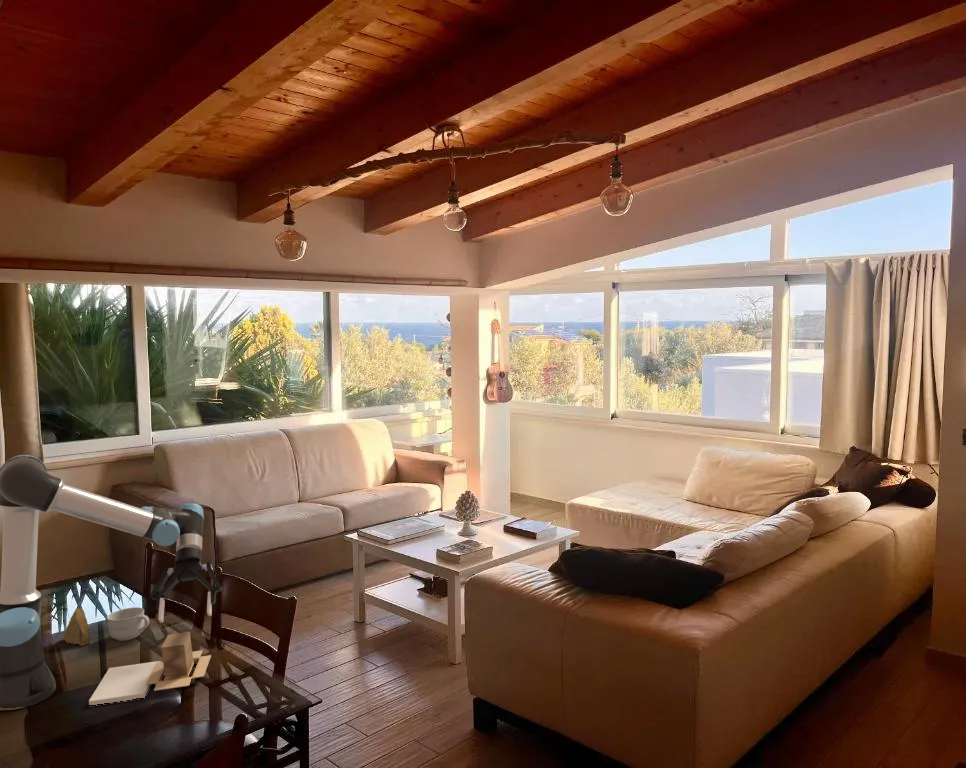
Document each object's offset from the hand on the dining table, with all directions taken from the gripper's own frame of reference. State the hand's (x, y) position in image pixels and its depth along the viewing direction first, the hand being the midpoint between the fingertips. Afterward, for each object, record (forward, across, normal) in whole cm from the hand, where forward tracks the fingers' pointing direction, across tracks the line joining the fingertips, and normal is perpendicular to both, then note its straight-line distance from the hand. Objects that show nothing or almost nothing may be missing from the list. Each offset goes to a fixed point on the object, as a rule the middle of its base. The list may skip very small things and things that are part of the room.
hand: (185, 617), depth 220 cm
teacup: (-6, +22, -25) cm, 33 cm away
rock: (-7, +39, -26) cm, 47 cm away
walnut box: (+16, +1, -2) cm, 16 cm away
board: (+17, +15, -2) cm, 22 cm away
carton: (+16, +1, -2) cm, 16 cm away
